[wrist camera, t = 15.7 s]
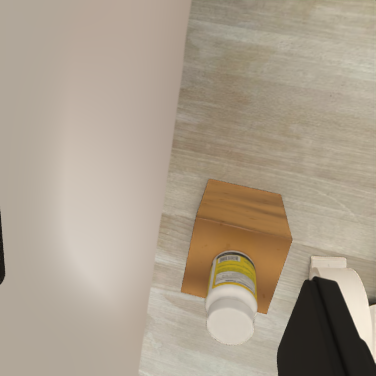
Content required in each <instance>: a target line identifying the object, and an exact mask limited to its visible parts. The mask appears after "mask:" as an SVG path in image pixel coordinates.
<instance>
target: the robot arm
mask: <svg viewBox="0 0 376 376" xmlns="http://www.w3.org/2000/svg"><path fill="white" fill-rule="evenodd" d="M4 277H5V265H4V252H3V239H2V227H1V214H0V284H1V283H2V282H3V280H4ZM277 367H278V376H376V363H375V361H374V359H373V356H372V354H371V352H370V349H369V347H368V345H367V344H366V342H365V341H364V340H363V339H362V338H360V336H359V333H358V331H357V328H356V326H355V324H354V321H353V319H352V316H351V314H350V312H349V309H348V307H347V304H346V302H345V299H344V297H343V295H342V292H341V290H340V287H339V285H338V283H337V282H336V281H334V280H329V279H325V278H321V277H317V276H314V277H313V278H312V279H311V280H305V281H304V283H303V286H302V288H301V291H300V293H299V296H298V299H297V301H296V304H295V306H294V309H293V311H292V314H291V316H290V319H289V322H288V324H287V327H286V329H285V332H284V334H283V337H282V340H281V342H280V345H279V348H278V352H277Z"/></svg>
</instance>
